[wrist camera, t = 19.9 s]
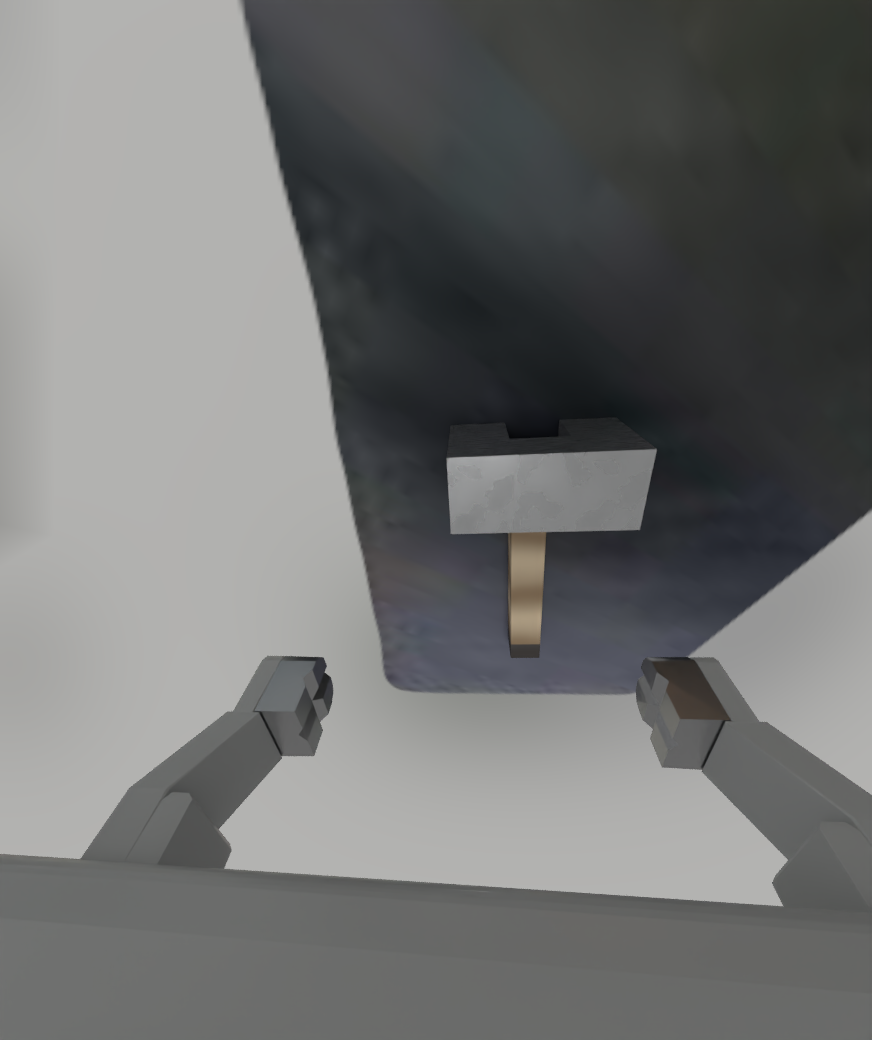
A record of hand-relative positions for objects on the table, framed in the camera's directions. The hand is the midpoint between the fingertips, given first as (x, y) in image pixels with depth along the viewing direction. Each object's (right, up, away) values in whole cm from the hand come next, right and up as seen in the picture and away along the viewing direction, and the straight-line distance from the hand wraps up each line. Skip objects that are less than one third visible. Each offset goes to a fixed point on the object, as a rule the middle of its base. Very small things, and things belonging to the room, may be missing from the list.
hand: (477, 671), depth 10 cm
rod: (+8, -2, +31) cm, 32 cm away
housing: (+7, +10, +24) cm, 27 cm away
